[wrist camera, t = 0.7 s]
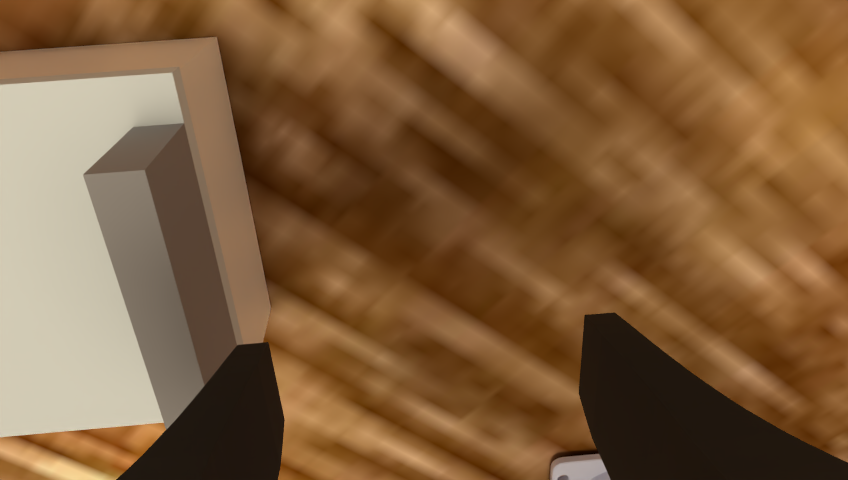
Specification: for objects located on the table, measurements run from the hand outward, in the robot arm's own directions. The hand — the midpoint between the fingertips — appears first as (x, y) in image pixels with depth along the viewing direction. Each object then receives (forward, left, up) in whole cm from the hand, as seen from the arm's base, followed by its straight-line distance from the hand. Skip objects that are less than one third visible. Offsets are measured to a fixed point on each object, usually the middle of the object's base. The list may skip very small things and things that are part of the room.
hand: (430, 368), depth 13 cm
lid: (0, +11, -6) cm, 13 cm away
